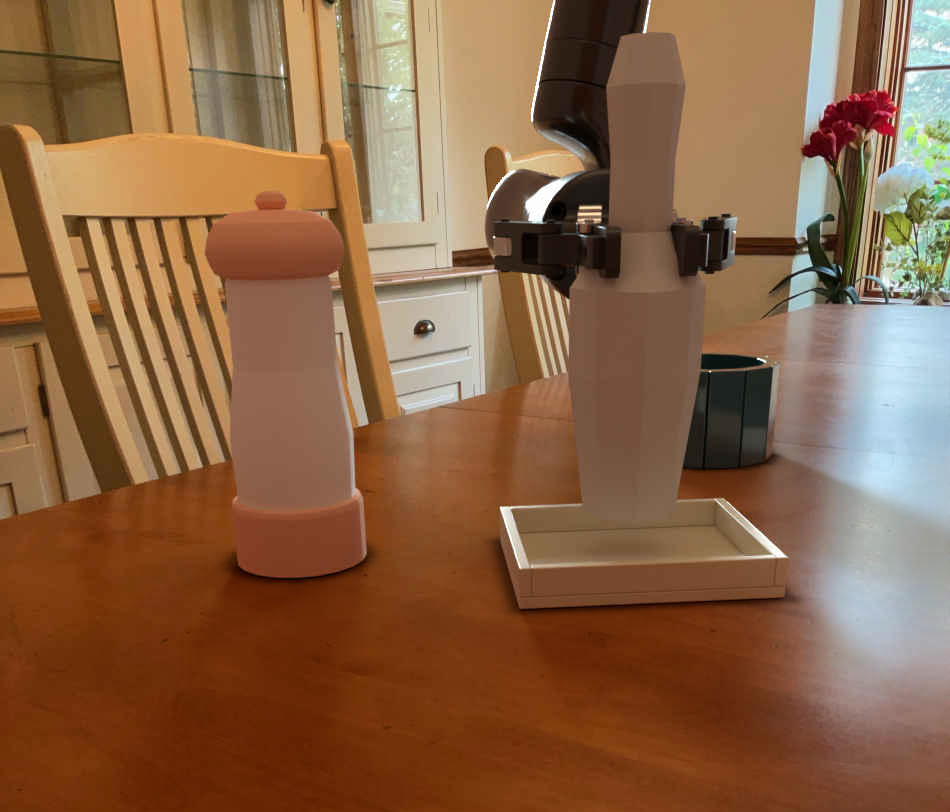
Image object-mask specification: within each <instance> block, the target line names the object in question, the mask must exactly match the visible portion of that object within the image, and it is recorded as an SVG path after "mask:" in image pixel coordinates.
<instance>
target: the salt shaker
mask: <svg viewBox="0 0 950 812" xmlns="http://www.w3.org/2000/svg"><path fill="white" fill-rule="evenodd" d="M254 204H255V206H256V208H257V209H253V210H244V211H235V212H231V213H229V214H226V215H225V216H224V217H221V219H218V220H217V221H215V222H213V224H212V226H211V229H210V231H209V232H208V235H207V236H206V241H205V248H204V256H205V258H206V261H207V264H208V265H209V268H210V269H211V271H212V273H213V274H214V275H215V276H217V277H221V278H223V279H225V282H224V290H225V291H224V292H225V301H226V308H227V309H226V311H227V321H228V331H229V341H230V350H231V361H232V373H231V374H232V375H231V377H232V379H231V398H230V399H231V400H230V419H229V420H230V421H229V422H230V423H229V444H230V451H231V459H232V466H233V473H234V479H235V487H236V494H237V495H236V496H235V497H233V498H232V501H231V503H230V504H231V515H232V523H233V533H234V540H235V550H236V551H235V552H236V559H237V566H238V567H239V568H241V569H242V570H243V571H244V572H246V573H250V574H252V575H256V576H261V577H268V578H277V579H280V578H281V579H282V578H283V579H284V578H285V579H287V578H288V579H298V578H309V577H319V576H324V575H329V574H334V573H338V572H341V571H344V570H347V569H350V568H353V567H355V566H357V565H358V564H360V563H361V562H363V561H364V559H365V558H366V556H367V551H368V550H367V539H366V538H367V537H366V536H367V535H366V521H365V520H366V519H365V506H364V497H363V495H362V493H361V491H360V490H359V489H358V488H357V487H356V472H355V471H356V470H355V469H356V467H355V445H354V444H355V443H354V442H355V441H354V430H353V425H352V421H351V417H350V413H349V412H350V411H349V407H348V403H347V399H346V394H345V388H344V385H343V380H342V376H341V370H340V368H339V367H340V365H339V363H338V352H337V351H338V349H337V339H336V338H337V337H336V325H335V324H336V323H335V313H334V299H333V286H332V285H333V284H332V280H331V278H330V275H332V274H334V273H336V272H338V271H340V269H341V267H342V264H343V261H344V257H345V253H346V246H345V245H344V240H343V237H342V234H341V233H340V231H339V230H338V229H337V226H336V225H335V223H333V221H332V220H331V219H329V218H327V217H325V216H323V215H321V214H319V213H317V212H315V211H313V210H305V209H291V208H286V207H287V205H288V199H287V197H286V195H285V194H284V193H282V192H280V191H278V190H267V191H264V190H263V191H261V192H259V193H258V194H256V196H255V199H254Z"/></svg>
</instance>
